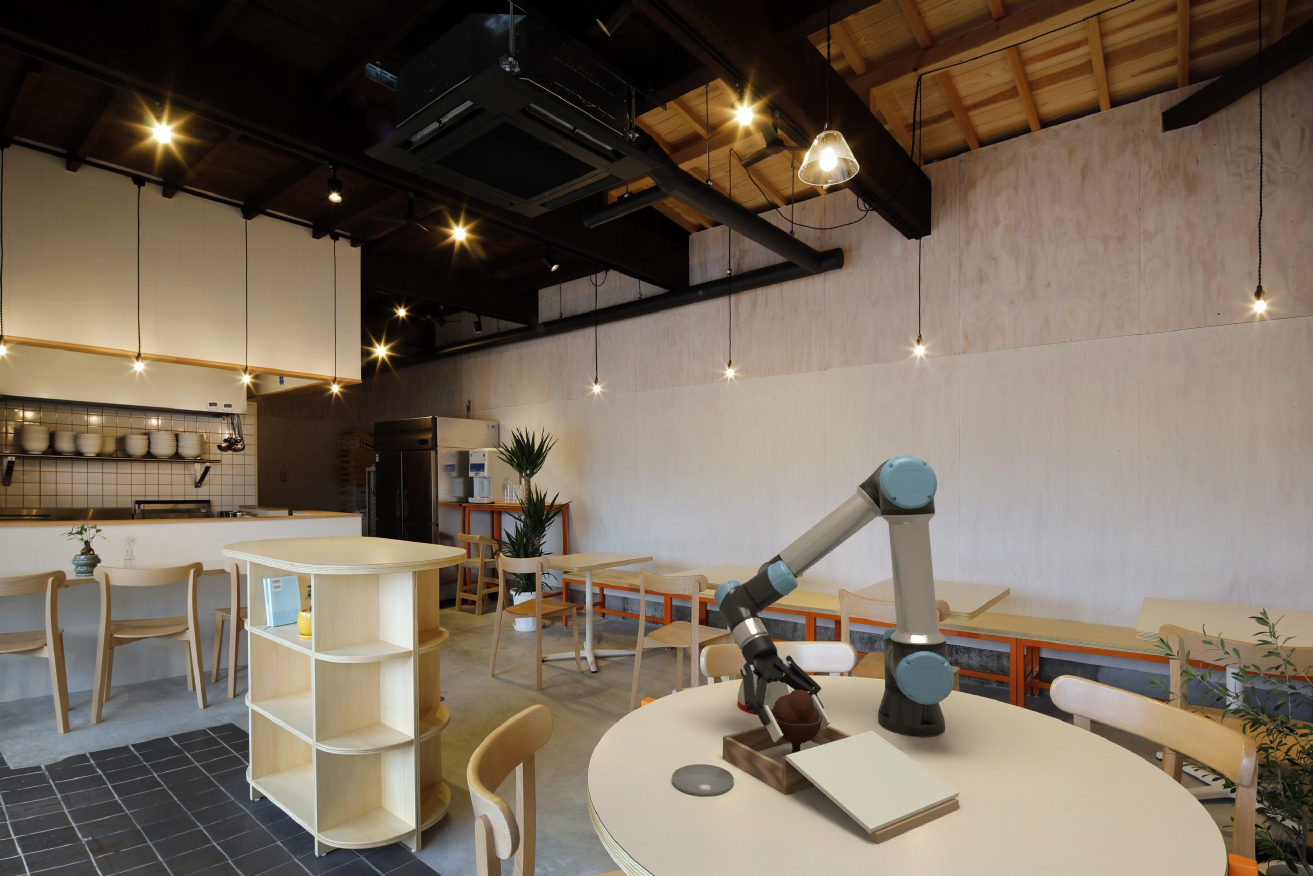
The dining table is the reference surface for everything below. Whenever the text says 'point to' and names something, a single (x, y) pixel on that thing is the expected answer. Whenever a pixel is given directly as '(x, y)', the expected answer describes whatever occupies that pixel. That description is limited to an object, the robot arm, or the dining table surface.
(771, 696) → the kitchen timer
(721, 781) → the coaster
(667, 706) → the dining table surface
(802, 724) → the ice cream bowl
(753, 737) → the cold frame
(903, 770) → the lid
